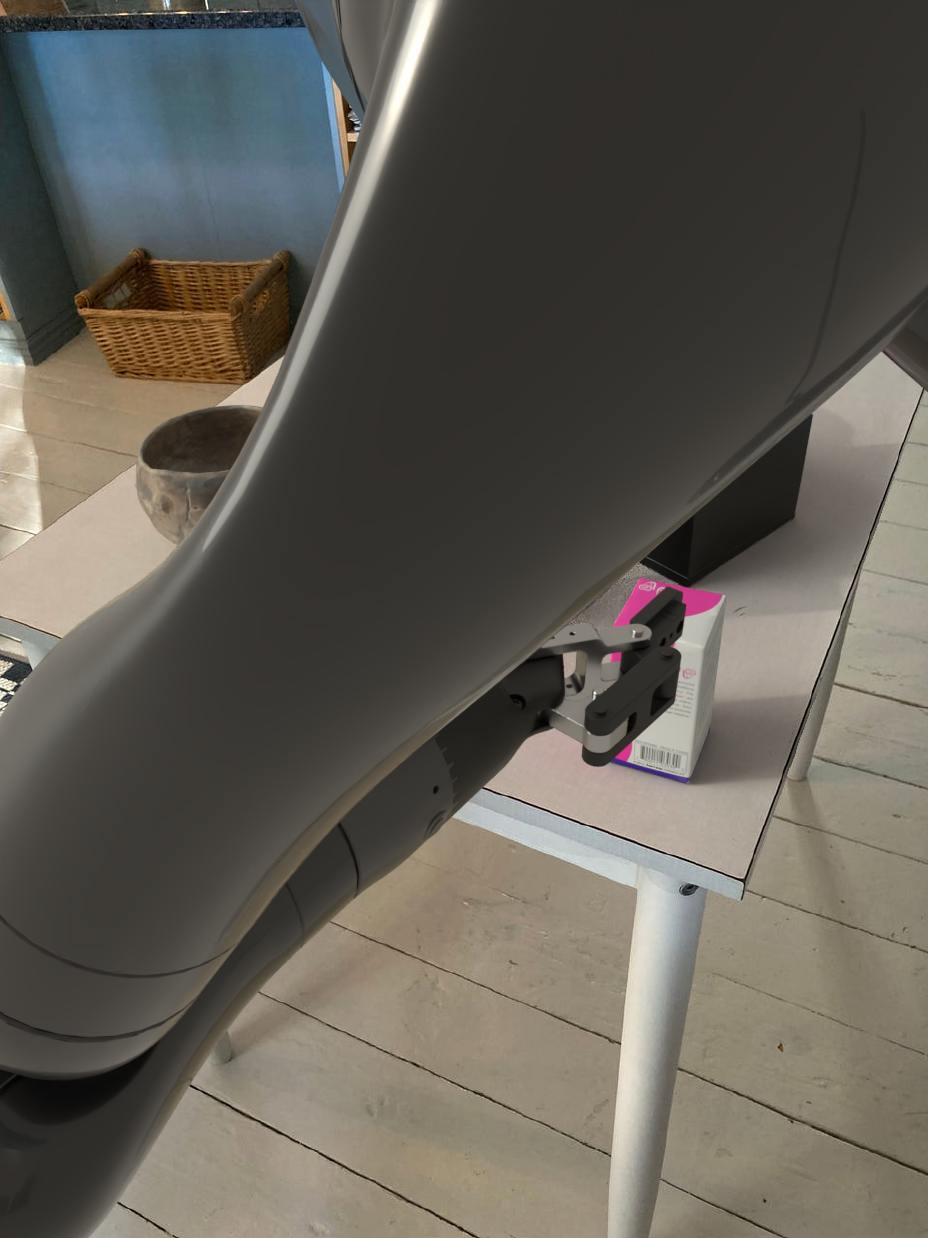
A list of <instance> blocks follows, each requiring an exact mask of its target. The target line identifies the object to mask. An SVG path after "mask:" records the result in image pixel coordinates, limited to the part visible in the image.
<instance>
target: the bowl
mask: <svg viewBox="0 0 928 1238" xmlns="http://www.w3.org/2000/svg"><path fill="white" fill-rule="evenodd" d="M262 408H263V406H257V405H248V404H231V405H230V404H229V405H217V406H210V407H204V408H200V409H196V410H191V411H188V412H185V413H182V414H178V415H176V416H173V417H171V418H169V419H167V420H165V421H163V422H161V423H160V424H159V425H157V426H156V427H154V428H153V429H152V430H151V431H149V433H148V434H147V436H145V438H144V439H143V440H142V442H141V444H140V446H139V449H138V452H137V457H136V463H135V464H136V465H135V484H134V487H135V490H136V494H137V500H138V503H139V504H140V507H141V508H142V510H143V512H144V513H145V515H146V516H147V517H148V518H149V521H150V522H151V524H152V526H153V528H155V530H156V532H158V533H159V534H161V535H162V536H163V537H164V538H165V539H167V540H168V541H170V542H171V543H173V544H175V545H176V546H177V545H178V544H179V543H180V542H181V541H182V540H183V538H184V537H185V536H186V535H187V534H188V533H189V531H190V530H191V529H192V528H193V527H194V526H195V524H196V523H197V522H198V520H199V519H200V517H201V516H202V514H203V513H204V512H205V510H206V509H207V507H208V506H209V504H210V503H211V501H212V500H213V498H214V496H215V495H216V493H217V491H218V490H219V488H220V486H221V485H222V483H223V481H224V480H225V478H226V476H227V475H228V473H229V471H230V470H231V468H232V466H233V465H234V463H235V461H236V460H237V458H238V456H239V454H240V452H241V450H242V448H243V446H244V444H245V442H246V440H247V438H248V436H249V434H250V432H251V431H252V429H253V427H254V425H255V423H256V421H257V419H258V417H259V415H260V413H261V411H262Z"/></svg>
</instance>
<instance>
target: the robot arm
mask: <svg viewBox="0 0 928 1238" xmlns="http://www.w3.org/2000/svg"><path fill="white" fill-rule="evenodd" d="M293 1H294V3H295V5H296V8H297V10H298V12H299V15H300V17H301V19H302V21H303V23H304V26H305V28H306V31H307V33H308V34H309V37H310V40H311V41H312V45H313V46H314V48H315V50H316V52H317V54H318V56H319V58H320V61H321V62H322V64H323V66H324V67H325V69H326V71H327V73H328V74H329V75H330V77H331V79H332V81H333V82H334V83H335V85H336V87H337V89H338V90H339V92H340V93H341V95H342V97H343V98H344V99H345V101H346V103H347V104H348V105H349V107H350V108H351V110H352V112H353V113H354V115H355V116H356V118H357V119H358V121H359V123H360V128H359V132H358V135H357V138H356V142H355V146H354V149H353V153H352V156H351V158H350V163H349V166H348V169H347V171H346V175H345V178H344V181H343V185H342V187H341V190H340V194H339V196H338V199H337V203H336V206H335V208H334V212H333V215H332V218H331V221H330V224H329V227H328V230H327V233H326V236H325V239H324V242H323V245H322V248H321V251H320V255H319V257H318V260H317V264H316V267H315V270H314V272H313V275H312V279H311V282H310V285H309V287H308V290H307V293H306V295H305V298H304V300H303V301H304V302H303V304H302V307H301V309H300V312H299V315H298V317H297V320H296V323H295V325H294V328H293V331H292V333H291V336H290V340H289V341H288V345H287V348H286V351H285V353H284V356H283V359H282V362H281V364H280V367H279V369H278V372H277V375H276V377H275V378H274V381H273V384H272V386H271V389H270V390H269V392H268V395H267V397H266V400H265V402H264V404H263V406H262V407H263V408H262V411H261V413H260V415H259V417H258V419H257V421H256V423H255V425H254V427H253V429H252V431H251V432H250V434H249V436H248V438H247V440H246V442H245V444H244V446H243V448H242V450H241V452H240V454H239V456H238V458H237V460H236V461H235V463H234V465H233V466H232V468H231V470H230V471H229V473H228V475H227V476H226V478H225V480H224V481H223V483H222V485H221V486H220V488H219V490H218V491H217V493H216V495H215V496H214V498H213V500H212V501H211V503H210V504H209V506H208V507H207V509H206V510H205V512H204V513H203V514H202V516H201V517H200V519H199V520H198V522H197V523H196V524H195V526H194V527H193V528H192V529H191V530H190V531H189V533H188V534H187V535H186V536H185V537H184V538H183V540H182V541H181V542H180V543H179V544H178V545H177V544H176V547H175V548H174V549H173V550H172V551H171V552H170V553H169V555H168V556H167V557H166V558H165V559H164V560H163V561H162V562H161V563H159V565H157V566H156V567H155V568H154V569H153V570H151V571H150V572H149V573H148V574H147V575H145V576H144V577H143V578H142V579H141V580H139V581H137V582H136V583H135V584H132V586H130V587H129V588H127V589H126V590H124V591H122V592H121V593H120V594H118V595H116V596H115V597H114V598H112V599H110V600H109V601H108V602H107V603H105V604H104V605H103V606H101V607H99V608H98V609H97V610H96V611H94V612H93V613H91V614H89V616H87V617H86V618H85V619H83V620H82V621H80V622H79V623H77V624H76V625H75V626H74V627H73V628H72V629H70V631H68V632H67V633H66V634H65V635H64V636H63V637H61V638H60V639H59V641H58V642H56V644H55V645H54V646H53V647H52V648H51V649H49V651H48V652H47V653H46V654H45V655H44V656H43V658H42V659H40V661H39V662H38V664H37V665H35V667H34V668H33V670H32V671H31V672H30V673H29V674H28V675H27V677H26V678H25V679H24V681H23V682H22V683H21V684H20V686H19V687H18V688H17V690H16V691H15V692H14V694H13V696H12V697H11V699H10V700H9V702H8V703H7V705H6V707H5V708H4V710H3V711H2V712H1V714H0V1238H91V1236H92V1235H93V1234H94V1233H95V1232H96V1231H97V1230H98V1228H99V1227H100V1226H101V1225H102V1224H103V1222H104V1221H105V1220H106V1219H107V1217H108V1216H109V1215H110V1213H111V1212H112V1211H113V1209H114V1208H115V1207H116V1205H117V1204H118V1202H119V1201H120V1200H121V1198H122V1197H123V1195H124V1193H125V1192H126V1190H127V1189H128V1187H129V1186H130V1185H131V1183H132V1181H133V1179H134V1178H135V1176H136V1175H137V1173H138V1172H139V1170H140V1169H141V1167H142V1165H143V1164H144V1162H145V1160H146V1158H147V1157H148V1155H149V1154H150V1152H151V1150H152V1149H153V1147H154V1146H155V1144H156V1142H157V1141H158V1139H159V1137H160V1136H161V1134H162V1133H163V1131H164V1129H165V1127H166V1125H167V1124H168V1122H169V1121H170V1119H171V1117H172V1115H173V1114H174V1112H175V1110H176V1109H177V1107H178V1106H179V1104H180V1102H181V1100H182V1099H183V1098H184V1096H185V1094H186V1092H187V1091H188V1089H189V1087H190V1086H191V1084H192V1083H193V1081H194V1080H195V1078H196V1076H197V1075H198V1073H199V1072H200V1070H201V1069H202V1067H203V1066H204V1064H205V1063H206V1062H207V1060H208V1059H209V1057H210V1055H211V1054H212V1052H213V1051H214V1049H215V1048H216V1047H217V1045H218V1044H219V1042H220V1041H221V1039H222V1038H223V1037H224V1035H225V1034H226V1033H227V1031H228V1030H229V1028H231V1026H232V1025H233V1023H234V1022H235V1021H236V1019H237V1018H238V1017H239V1015H240V1014H242V1012H243V1010H244V1009H245V1008H246V1007H247V1006H248V1005H249V1004H250V1002H251V1001H252V1000H253V999H254V998H255V996H257V994H258V993H259V992H260V991H261V990H262V988H264V986H265V985H266V984H267V983H268V982H269V981H270V980H271V979H272V978H273V977H274V976H275V974H277V973H278V972H279V970H281V968H282V967H283V966H284V965H285V964H286V963H288V961H290V960H291V959H292V958H293V957H294V956H295V955H296V954H297V952H299V951H300V949H302V948H303V947H304V946H305V945H306V944H307V943H308V942H309V941H311V939H313V938H314V937H315V936H316V935H317V934H318V933H319V932H320V931H322V930H323V929H324V928H325V927H326V926H327V925H328V924H329V923H330V922H331V921H332V920H333V919H334V918H335V917H336V916H337V915H338V914H340V913H341V912H342V911H343V910H344V909H345V908H346V907H347V906H348V905H349V904H350V903H351V902H353V900H355V899H357V897H358V896H360V895H361V894H362V893H363V892H365V891H366V890H367V889H369V888H370V887H372V886H373V885H374V884H376V883H377V882H379V881H380V880H382V879H384V878H385V877H386V876H388V875H389V874H391V873H392V872H394V871H395V870H396V869H397V868H398V867H399V866H401V865H402V864H403V863H404V862H405V861H407V860H408V859H409V858H410V857H411V856H412V855H413V854H414V853H415V852H417V851H418V850H419V849H420V848H421V847H422V846H423V845H424V844H425V843H426V842H427V841H428V840H429V839H431V838H432V837H433V836H434V835H436V834H437V833H438V832H439V831H440V830H441V829H442V827H444V825H445V824H446V823H447V822H448V821H450V820H451V818H452V817H453V816H454V815H456V814H457V813H458V812H459V811H460V810H461V809H462V808H463V807H464V806H466V804H467V803H468V802H469V801H470V800H471V799H473V797H475V796H476V795H477V794H478V793H479V792H480V791H481V790H482V789H483V788H484V787H486V786H487V784H489V783H490V782H491V781H492V780H493V779H494V778H495V777H496V776H497V775H498V774H499V773H501V772H502V770H503V769H505V767H506V766H507V765H508V764H509V763H510V761H511V760H512V759H513V757H514V756H515V755H516V754H517V752H518V750H519V749H520V748H521V746H522V745H523V744H524V742H525V741H526V740H528V739H529V738H531V737H534V736H535V735H538V734H542V733H545V732H547V731H550V730H552V729H555V730H557V731H559V732H561V733H562V734H563V735H566V736H568V737H569V738H571V739H573V740H575V741H577V742H579V743H580V744H581V745H582V747H581V748H582V749H581V759H582V761H583V762H584V763H585V764H587V765H589V766H591V767H595V768H599V767H605V766H607V765H609V764H611V763H612V762H611V761H612V760H613V759H614V758H615V757H616V756H617V755H618V754H619V753H621V752H622V751H623V750H624V749H625V748H626V747H627V746H628V745H629V744H630V743H631V742H633V741H634V740H635V739H636V738H637V737H638V736H639V735H640V734H641V733H642V732H643V731H645V730H646V729H647V728H648V727H649V726H650V725H651V724H652V723H653V722H654V721H655V720H657V719H658V718H659V717H660V716H661V715H662V714H663V713H664V712H665V711H666V710H668V709H669V708H670V707H671V706H672V705H673V704H674V702H675V698H676V691H677V684H678V677H679V670H680V664H681V657H682V656H681V653H680V652H679V651H678V650H677V649H675V648H673V647H671V645H673V644H674V643H675V641H677V640H678V639H679V638H680V637H681V636H682V632H683V627H684V620H685V613H686V606H687V604H684V603H682V600H683V592H682V591H680V590H677V589H674V588H672V587H669V586H667V587H666V588H665V589H663V590H662V591H661V592H660V593H659V594H658V595H657V596H656V597H655V598H654V599H652V600H651V601H650V602H649V603H648V604H647V605H646V606H645V607H644V608H643V609H641V610H640V611H639V612H638V613H637V614H636V615H635V616H634V617H633V618H632V619H630V624H629V625H624V626H618V627H613V626H612V627H607V628H600V629H598V628H596V627H595V626H594V624H592V623H591V622H582V623H575V624H570V623H572V622H573V621H574V620H575V619H576V618H577V617H579V616H580V615H581V614H582V613H583V612H584V611H586V610H587V609H588V608H589V607H590V606H592V605H593V604H594V603H595V602H596V601H597V600H599V598H601V597H602V596H603V595H604V594H605V593H606V592H607V591H608V590H610V589H611V588H612V587H613V586H614V585H615V584H616V583H618V582H619V580H621V579H622V578H623V577H624V576H626V574H628V573H629V572H630V571H631V570H632V569H633V568H634V567H636V566H637V565H638V564H640V563H639V562H640V561H641V560H642V559H643V558H644V557H646V556H647V555H648V554H649V553H650V552H651V551H652V550H653V549H655V548H656V547H657V546H658V545H659V544H660V543H661V542H662V541H664V540H665V539H666V538H667V537H668V536H669V535H671V534H672V533H673V532H674V531H675V530H676V529H678V528H679V527H680V526H681V525H682V524H684V523H685V522H686V521H687V520H688V519H689V518H691V517H692V516H693V515H694V514H695V513H696V512H698V511H699V510H700V509H701V508H702V507H703V506H705V505H706V504H707V503H708V502H709V501H710V500H712V499H713V498H714V497H715V496H716V495H717V494H719V493H720V492H721V491H722V490H723V489H725V488H726V487H727V486H728V485H729V484H730V483H732V482H733V481H734V480H735V479H736V478H737V477H739V476H740V475H741V474H742V473H743V472H744V471H746V470H747V469H748V468H749V467H750V466H751V465H752V464H754V463H755V462H756V461H757V460H758V459H759V458H761V457H762V456H763V455H764V454H765V453H766V452H768V451H769V450H770V449H771V448H772V447H773V446H775V445H776V444H777V443H778V442H779V441H780V440H781V439H783V438H784V437H785V436H786V435H787V434H788V433H790V432H791V431H792V430H793V429H794V428H795V427H797V426H798V425H799V424H800V423H801V422H802V421H804V420H805V419H806V418H807V417H808V416H809V415H811V414H814V412H816V410H818V409H819V408H820V407H821V406H822V405H824V404H825V403H826V402H827V401H828V400H829V399H830V398H832V397H833V396H834V395H835V394H836V393H837V392H839V390H841V389H842V388H843V387H844V386H845V385H846V384H847V383H849V382H850V380H852V379H853V378H854V377H855V376H856V375H857V374H859V372H861V371H862V370H863V369H864V368H865V367H866V366H867V365H869V363H871V361H873V360H874V359H875V358H876V357H877V356H878V355H879V354H880V353H882V354H883V355H884V356H886V357H887V358H888V359H889V360H890V361H891V362H893V363H894V364H895V365H896V366H897V367H898V368H899V369H900V370H902V371H903V372H904V373H905V374H906V375H907V376H908V377H910V378H911V379H912V380H913V381H914V382H915V383H916V384H918V385H919V386H920V387H921V388H922V389H923V390H924V391H925V392H927V393H928V0H293ZM618 652H621V661H615V662H611V661H610V662H605V663H603V660H604V658H605V657H606V656H608V655H611V654H612V653H618ZM570 653H576V654H575V655H576V656H575V668H574V671H573V672H572V673H571V674H570V675H569V676H567V677H565V664H564V663H565V662H564V661H565V660H564V654H570Z"/></svg>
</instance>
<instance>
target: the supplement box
mask: <svg viewBox="0 0 928 1238" xmlns="http://www.w3.org/2000/svg"><path fill="white" fill-rule="evenodd" d="M667 586H669V587H672V588H674V589H677V590H680V591H682V592H683V600H682V603H684V604H687V606H686V613H685V620H684V627H683V632H682V636H681V637H680V638H679V639H678V640H677V641H675V643H674V644H673V645H671V647H673V648H675V649H677V650H678V651H679V652H680V653H681V656H682V657H681V664H680V670H679V677H678V684H677V691H676V698H675V702H674V704H673V705H672V706H671V707H670V708H669V709H668V710H666V711H665V712H664V713H663V714H662V715H661V716H660V717H659V718H658V719H657V720H655V721H654V722H653V723H652V724H651V725H650V726H649V727H648V728H647V729H646V730H645V731H643V732H642V733H641V734H640V735H639V736H638V737H637V738H636V739H635V740H634V741H633V742H631V743H630V744H629V745H628V746H627V747H626V748H625V749H624V750H623V751H622V752H621V753H619V754H618V755H617V756H616V757H615V758H614V759H613V760H612V761H611V762H610V763H611V764H614V765H618V766H623V767H626V768H630V769H633V770H637V771H640V772H644V773H647V774H651V775H654V776H659V777H663V778H665V779H669V780H673V781H676V782H679V783H682V784H687V785H689V784H690V782H691V780H692V777H693V774H694V772H695V769H696V767H697V764H698V761H699V759H700V757H701V753H702V751H703V748H704V746H705V744H706V741H707V738H708V735H709V733H710V730H711V726H712V724H711V723H712V718H713V708H714V699H715V691H716V684H717V675H718V667H719V659H720V652H721V651H720V650H721V644H722V635H723V629H724V622H725V614H726V613H725V612H726V605H727V595H726V594H721V593H716V592H711V591H708V590H707V591H706V590H702V589H696V588H691V587H688V588H687V587H683V586H681V585H679V584H672V583H667V582H663V581H657V580H651V579H648V578H643V577H640V578H639V579H638V580H637V582H636V584H635V586H634V588H633V590H632V592H631V594H630V595H629V597H628V599H627V601H626V603H625V604H624V606H623V608H622V610H620V611H621V612H620V613H619V614H618V617H617V618H616V620H615V622H614V624H613V625H612V627H618V626H624V625H629V624H630V619H632V618H633V617H634V616H635V615H636V614H637V613H638V612H639V611H640V610H641V609H643V608H644V607H645V606H646V605H647V604H648V603H649V602H650V601H651V600H652V599H654V598H655V597H656V596H657V595H658V594H659V593H660V592H661V591H662V590H663V589H665V588H666V587H667ZM615 661H621V652H618V653H612V654H610V662H615Z"/></svg>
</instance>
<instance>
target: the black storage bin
mask: <svg viewBox="0 0 928 1238" xmlns="http://www.w3.org/2000/svg"><path fill="white" fill-rule="evenodd" d="M813 418H814V413H812V414H811V415H809V416H808V417H807V418H806V419H805V420H804V421H802V422H801V423H800V424H799V425H798V426H797V427H795V428H794V429H793V430H792V431H791V432H790V433H788V434H787V435H786V436H785V437H784V438H783V439H781V440H780V441H779V442H778V443H777V444H776V445H775V446H773V447H772V448H771V449H770V450H769V451H768V452H766V453H765V454H764V455H763V456H762V457H761V458H759V459H758V460H757V461H756V462H755V463H754V464H752V465H751V466H750V467H749V468H748V469H747V470H746V471H744V472H743V473H742V474H741V475H740V476H739V477H737V478H736V479H735V480H734V481H733V482H732V483H730V484H729V485H728V486H727V487H726V488H725V489H723V490H722V491H721V492H720V493H719V494H717V495H716V496H715V497H714V498H713V499H712V500H710V501H709V502H708V503H707V504H706V505H705V506H703V507H702V508H701V509H700V510H699V511H698V512H696V513H695V514H694V515H693V516H692V517H691V518H689V519H688V520H687V521H686V522H685V523H684V524H682V525H681V526H680V527H679V528H678V529H676V530H675V531H674V532H673V533H672V534H671V535H669V536H668V537H667V538H666V539H665V540H664V541H662V542H661V543H660V544H659V545H658V546H657V547H656V548H655V549H653V550H652V551H651V552H650V553H649V554H648V555H647V556H646V557H644V558H643V559H642V560H641V561H640V562H639V563H638V564H641V565H642V566H644V567H646V568H648V569H650V570H652V571H654V572H656V573H657V574H659V575H661V576H662V577H664V578H667V579H669V580H670V581H672V582H673V583H675V584H676V585H678V586H682V587H687V588H691V586H693V585H695V584H696V583H697V582H699V581H701V580H702V579H703V578H705V577H707V576H708V575H710V574H711V573H713V572H714V571H716V570H717V569H719V568H721V567H722V566H723V565H725V564H726V563H728V562H729V561H731V560H732V559H734V558H735V557H737V556H739V555H741V554H742V553H743V552H744V551H746V550H747V549H749V548H751V547H752V546H753V545H755V544H757V543H758V542H760V541H762V539H765V538H766V537H768V536H769V535H770V534H772V533H773V532H775V531H777V530H778V529H779V528H781V527H782V526H784V525H785V524H787V523H788V522H790V521H792V520H793V519H795V517H796V513H797V507H798V501H799V497H800V490H801V485H802V480H803V479H802V478H803V473H804V468H805V463H806V458H807V452H808V447H809V440H810V435H811V429H812V425H813V424H812V423H813Z"/></svg>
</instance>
